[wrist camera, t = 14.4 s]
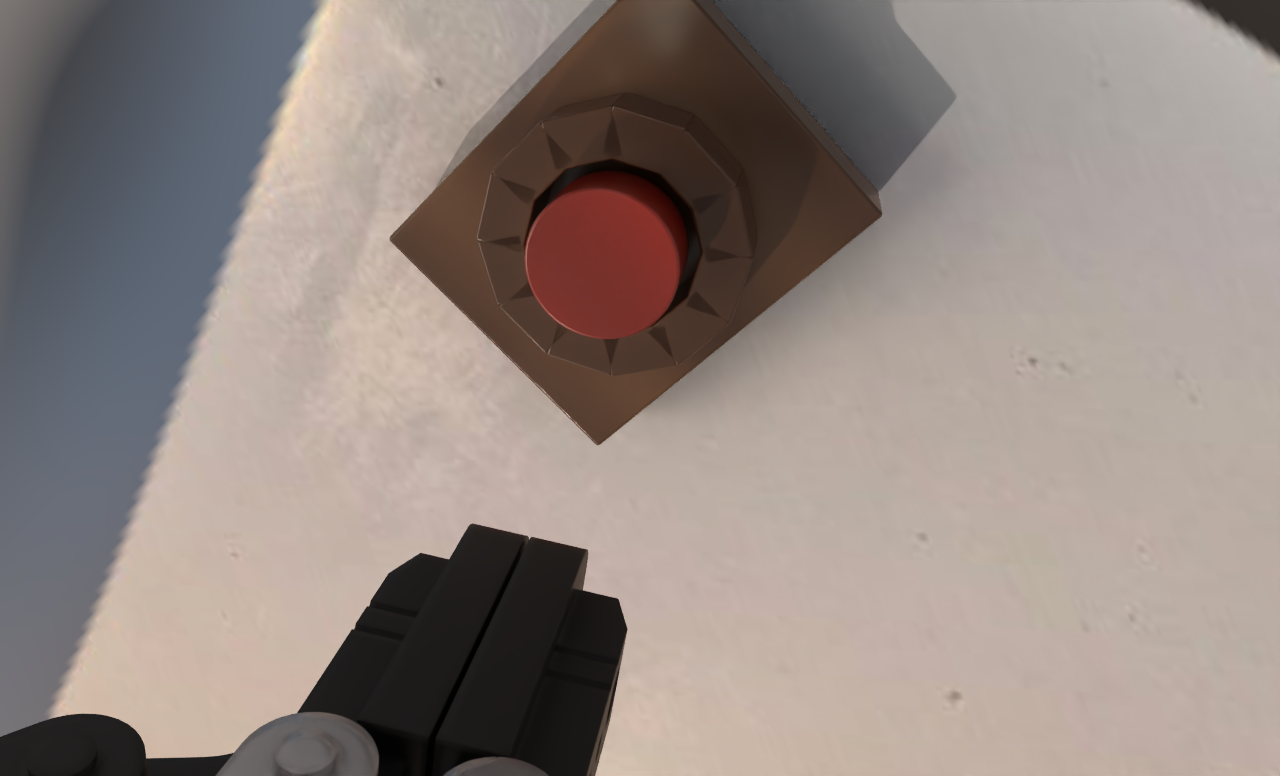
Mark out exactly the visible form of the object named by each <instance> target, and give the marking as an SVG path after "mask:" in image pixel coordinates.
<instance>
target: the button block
mask: <svg viewBox="0 0 1280 776" xmlns="http://www.w3.org/2000/svg"><path fill="white" fill-rule="evenodd" d="M600 171H621V172H627V173H631V174H634V175H637V176H639V177H642V178H644V179H646V180H648V181H650V182H651V183H653V184H654V185H656V186H657V187H659V188H660V189H661V190H662V191H663V192H664V193H665V194H666V195H667V196H668V197H669V198H670V199H671V200H672V202H673V203H674V204H675V206H676V207H677V209H678V211H679V212H680V214H681V217H682V219H683V221H684V224H685V227H686V230H687V236H688V259H687V263H686V267H685V270H684V273H683V276H682V278H681V281H680V283H679V286H678V289H677V291H676V294H675V296H674V299H673V301H672V302H671V304H670V306H669V308H668V309H667V310H666V311H665V313H664V314H663V315H662V316H661V317H660V318H659V319H658V320H657V321H656V322H655V323H653V324H652V325H651V326H649V327H648V328H646V329H644V330H643V331H641V332H639V333H636V334H634V335H631V336H627V337H623V338H616V339H598V338H591V337H587V336H584V335H580V334H578V333H575V332H573V331H571V330H569V329H567V328H565V327H564V326H562V325H561V324H559V323H558V322H556V321H555V320H554V319H553V318H552V317H551V316H550V315H548V314H547V312H546V311H545V310H544V309H543V308H542V307H541V305H540V304H539V302H538V301H537V299H536V298H535V296H534V294H533V292H532V290H531V288H530V285H529V282H528V279H527V275H526V271H525V261H524V257H525V246H526V240H527V237H528V234H529V231H530V229H531V227H532V225H533V223H534V221H535V220H536V218H537V217H538V215H539V214H540V213H541V212H542V211H543V210H544V208H545V207H546V206H547V205H548V204H549V203H550V202H551V201H552V200H553V199H554V198H555V196H556V195H557V194H558V193H559V192H560V191H561V190H562V189H563V188H564V187H566V186H567V185H568V184H569V183H571V182H573V181H574V180H576V179H578V178H580V177H582V176H584V175H587V174H591V173H594V172H600ZM881 216H882V210H881V205H880V199H879V194H878V191H877V190H876V189H875V188H874V186H873V185H872V184H871V183H870V182H869V181H868V179H867V178H866V177H865V176H864V175H863V174H862V173H861V171H860V170H859V169H858V168H857V167H856V166H855V165H854V163H853V162H852V161H851V160H850V159H849V158H848V157H847V155H846V154H845V153H844V152H843V151H842V150H841V148H840V147H839V146H838V145H837V144H836V143H835V142H834V140H833V139H832V138H831V137H830V136H829V135H828V134H827V132H826V131H825V130H824V129H823V128H822V127H821V126H820V124H819V123H818V122H817V121H816V120H815V119H814V118H813V116H812V115H811V114H810V113H809V112H808V111H807V109H806V108H805V107H804V106H803V105H802V104H801V103H800V101H799V100H798V99H797V98H796V97H795V96H794V95H793V93H792V92H791V91H790V90H789V89H788V88H787V87H786V85H785V84H784V83H783V82H782V81H781V80H780V78H779V77H778V76H777V75H776V74H775V73H774V72H773V70H772V69H771V68H770V67H769V66H768V65H767V64H766V62H765V61H764V60H763V59H762V58H761V57H760V56H759V54H758V53H757V52H756V51H755V50H754V49H753V47H752V46H751V45H750V44H749V43H748V42H747V41H746V39H745V38H744V37H743V36H742V35H741V34H740V33H739V31H738V30H737V29H736V28H735V27H734V26H733V25H732V23H731V22H730V21H729V20H728V19H727V18H726V17H725V15H724V14H723V13H722V12H721V11H720V10H719V8H718V7H717V6H716V5H715V4H714V3H713V2H712V0H617V1H616V2H615V3H614V4H613V5H612V6H611V7H610V8H609V9H608V10H607V11H606V13H605V14H604V15H603V16H602V17H601V18H600V19H599V20H598V21H597V22H596V23H595V24H594V25H593V26H592V27H591V28H590V29H589V30H588V31H587V32H586V33H585V34H584V35H583V36H582V37H581V39H580V40H579V41H578V42H577V43H576V44H575V45H574V46H573V47H572V48H571V49H570V50H569V51H568V52H567V53H566V54H565V55H564V56H563V57H562V58H561V59H560V60H559V61H558V62H557V63H556V65H555V66H554V67H553V68H552V69H551V70H550V71H549V72H548V73H547V74H546V75H545V76H544V77H543V78H542V79H541V80H540V81H539V82H538V83H537V84H536V85H535V86H534V87H533V88H532V89H531V91H530V92H529V93H528V94H527V95H526V96H525V97H524V98H523V99H522V100H521V101H520V102H519V103H518V104H517V105H516V106H515V107H514V108H513V109H512V110H511V111H510V112H509V113H508V114H507V116H506V117H505V118H504V119H503V120H502V121H501V122H500V123H499V124H498V125H497V126H496V127H495V128H494V129H493V130H492V131H491V132H490V133H489V134H488V135H487V136H486V137H485V138H484V139H483V140H482V142H481V143H480V144H479V145H478V146H477V147H476V148H475V149H474V150H473V151H472V152H471V153H470V154H469V155H468V156H467V157H466V158H465V159H464V160H463V161H462V162H461V163H460V164H459V165H458V166H457V168H456V169H455V170H454V171H453V172H452V173H451V174H450V175H449V176H448V177H447V178H446V179H445V180H444V181H443V182H442V183H441V184H440V185H439V186H438V187H437V188H436V189H435V190H434V191H433V193H432V194H431V195H430V196H429V197H428V198H427V199H426V200H425V201H424V202H423V203H422V204H421V205H420V206H419V207H418V208H417V209H416V210H415V211H414V212H413V213H412V214H411V215H410V216H409V217H408V219H407V220H406V221H405V222H404V223H403V224H402V225H401V226H400V227H399V228H398V229H397V230H396V231H395V232H394V233H393V234H392V235H391V236H390V241H391V242H392V243H393V244H394V245H395V246H396V247H397V248H398V249H399V250H400V251H401V252H402V253H403V254H404V255H405V256H406V257H407V258H408V259H409V260H410V261H411V262H412V263H413V264H414V265H415V266H416V267H417V268H418V269H419V270H420V271H421V272H422V273H423V274H424V275H425V276H426V277H427V278H428V279H429V280H430V281H431V282H432V283H433V284H434V285H435V286H436V287H437V288H438V289H439V290H440V291H441V292H442V293H443V294H445V295H446V296H447V297H448V298H449V299H450V300H451V301H452V302H453V303H454V304H455V305H456V306H457V307H458V308H459V309H460V310H461V311H462V312H463V313H464V314H465V315H466V316H467V317H468V318H469V319H470V320H471V321H472V322H473V323H474V324H475V325H476V326H477V327H478V328H479V329H480V330H481V331H482V332H483V333H484V334H485V335H486V336H487V337H488V338H489V339H490V340H491V341H492V342H493V343H494V344H495V345H496V346H497V347H498V348H499V349H500V350H501V351H502V352H503V353H504V354H505V355H506V356H507V357H508V358H509V359H510V360H511V361H512V362H513V363H514V364H515V365H516V366H517V367H518V368H519V369H520V370H521V371H522V372H523V373H524V374H525V375H526V376H527V377H528V378H529V379H530V380H531V381H532V382H533V383H534V384H535V385H536V386H537V387H538V388H539V389H540V390H542V391H543V392H544V393H545V394H546V395H547V396H548V397H549V398H550V399H551V400H552V401H553V402H554V403H555V404H556V405H557V406H558V407H559V408H560V409H561V410H562V411H563V412H564V413H565V414H566V415H567V416H568V417H569V418H570V419H571V420H572V421H573V422H574V423H575V424H576V425H577V426H578V427H579V428H580V429H581V430H582V431H583V432H584V433H585V434H586V435H587V436H588V437H589V438H590V439H591V440H592V441H593V442H594V443H595V444H596V445H600V444H601V443H603V442H604V441H605V440H606V439H608V438H609V437H610V436H611V435H612V434H614V433H615V432H616V431H617V430H619V429H620V428H621V427H622V426H624V425H625V424H626V423H627V422H629V421H630V420H631V419H632V418H633V417H635V416H636V415H637V414H638V413H640V412H641V411H642V410H643V409H645V408H646V407H647V406H648V405H649V404H651V403H652V402H653V401H654V400H656V399H657V398H658V397H659V396H661V395H662V394H663V393H664V392H666V391H667V390H668V389H669V388H670V387H672V386H673V385H674V384H675V383H677V382H678V381H679V380H680V379H682V378H683V377H684V376H685V375H686V374H688V373H689V372H690V371H691V370H693V369H694V368H695V367H696V366H698V365H699V364H700V363H701V362H703V361H704V360H705V359H706V358H707V357H709V356H710V355H711V354H712V353H714V352H715V351H716V350H717V349H719V348H720V347H721V346H722V345H723V344H725V343H726V342H727V341H728V340H730V339H731V338H732V337H733V336H735V335H736V334H737V333H738V332H739V331H741V330H742V329H743V328H744V327H746V326H747V325H748V324H749V323H751V322H752V321H753V320H754V319H756V318H757V317H758V316H759V315H760V314H762V313H763V312H764V311H765V310H767V309H768V308H769V307H770V306H772V305H773V304H774V303H775V302H776V301H778V300H779V299H780V298H781V297H783V296H784V295H785V294H786V293H788V292H789V291H790V290H791V289H793V288H794V287H795V286H796V285H797V284H799V283H800V282H801V281H802V280H804V279H805V278H806V277H807V276H809V275H810V274H811V273H812V272H813V271H815V270H816V269H817V268H818V267H820V266H821V265H822V264H823V263H825V262H826V261H827V260H828V259H830V258H831V257H832V256H833V255H834V254H836V253H837V252H838V251H839V250H841V249H842V248H843V247H844V246H846V245H847V244H848V243H849V242H850V241H852V240H853V239H854V238H855V237H857V236H858V235H859V234H860V233H862V232H863V231H864V230H865V229H867V228H868V227H869V226H870V225H871V224H873V223H874V222H875V221H876V220H878V219H879V218H880V217H881Z"/></svg>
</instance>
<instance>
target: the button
mask: <svg viewBox="0 0 1280 776" xmlns="http://www.w3.org/2000/svg"><path fill="white" fill-rule="evenodd" d="M687 259H688V236H687V230H686V227H685V224H684V221H683V219H682V217H681V214H680V212H679V211H678V209H677V207H676V206H675V204H674V203H673V202H672V200H671V199H670V198H669V197H668V196H667V195H666V194H665V193H664V192H663V191H662V190H661V189H660V188H659V187H657V186H656V185H654V184H653V183H651V182H650V181H648V180H646V179H644V178H642V177H639V176H637V175H634V174H631V173H627V172H621V171H600V172H594V173H591V174H587V175H584V176H582V177H580V178H578V179H576V180H574V181H573V182H571V183H569V184H568V185H567V186H566V187H564V188H563V189H562V190H561V191H560V192H559V193H558V194H557V195H556V196H555V198H554V199H553V200H552V201H551V202H550V203H549V204H548V205H547V206H546V207H545V208H544V210H543V211H542V212H541V213H540V214H539V215H538V217H537V218H536V220H535V221H534V223H533V225H532V227H531V229H530V231H529V234H528V237H527V240H526V246H525V257H524V261H525V271H526V275H527V279H528V282H529V285H530V288H531V290H532V292H533V294H534V296H535V298H536V299H537V301H538V302H539V304H540V305H541V307H542V308H543V309H544V310H545V311H546V312H547V314H548V315H550V316H551V317H552V318H553V319H554V320H555V321H556V322H558V323H559V324H561V325H562V326H564V327H565V328H567V329H569V330H571V331H573V332H575V333H578V334H580V335H584V336H587V337H591V338H598V339H616V338H623V337H627V336H631V335H634V334H636V333H639V332H641V331H643V330H644V329H646V328H648V327H649V326H651V325H652V324H653V323H655V322H656V321H657V320H658V319H659V318H660V317H661V316H662V315H663V314H664V313H665V311H666V310H667V309H668V308H669V306H670V304H671V302H672V301H673V299H674V296H675V294H676V291H677V289H678V286H679V283H680V281H681V278H682V276H683V273H684V270H685V267H686V263H687Z"/></svg>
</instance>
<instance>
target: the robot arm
mask: <svg viewBox="0 0 1280 776" xmlns="http://www.w3.org/2000/svg"><path fill="white" fill-rule="evenodd" d="M587 560H588V550H586V549H582V548H578V547H573V546H569V545H565V544H560V543H556V542H552V541H547V540H543V539H539V538H534V537H531V538H530V540H529V537H528V536H524V535H520V534H516V533H511V532H507V531H503V530H498V529H494V528H490V527H485V526H481V525H477V524H471V525H470V526H469V527H468V528H467V530H466V532H465V533H464V535H463V537H462V538H461V540H460V542H459V544H458V545H457V547H456V549H455V551H454V552H453V554H452V556H451V557H450V559H444V558H440V557H436V556H432V555H427V554H423V553H420V554H418V555H417V556H415V557H414V558H412V559H410V560H409V561H407V562H406V563H404V564H403V565H401V566H399V567H398V568H396V569H395V570H393V571H392V572H390V573H389V574H388V575H387V577H386V578H385V580H384V581H383V583H382V584H381V586H380V588H379V589H378V591H377V592H376V594H375V595H374V597H373V598H372V600H371V603H370V606H369V607H368V606H367V607H366V609H365V610H364V612H363V613H362V615H361V617H360V618H359V620H358V621H357V623H356V626H355V629H354V630H353V629H352V630H351V632H350V633H349V635H348V636H347V638H346V639H345V641H344V642H343V644H342V646H341V647H340V649H339V650H338V652H337V653H336V655H335V656H334V658H333V659H332V661H331V662H330V664H329V665H328V667H327V668H326V670H325V671H324V673H323V675H322V676H321V678H320V679H319V681H318V682H317V684H316V685H315V687H314V688H313V690H312V691H311V693H310V694H309V696H308V697H307V699H306V700H305V702H304V704H303V705H302V707H301V708H300V710H299V711H298V713H297V714H291V715H288V716H284V717H281V718H278V719H276V720H273V721H271V722H269V723H267V724H265V725H263V726H262V727H260V728H258V729H257V730H256V731H254V732H253V733H252V734H251V735H249V736H248V738H247V739H246V740H245V741H244V742H243V743H242V744H241V745H240V746H239V748H238V749H237V750H236V751H235V752H234V753H232V754H227V755H221V756H213V757H192V758H150V759H146V753H145V746H144V743H143V741H142V739H141V737H140V735H139V734H138V733H137V732H136V730H135V729H133V728H132V727H131V726H129V725H128V724H127V723H125V722H123V721H121V720H119V719H116V718H112V717H109V716H104V715H98V714H74V715H66V716H61V717H56V718H52V719H49V720H46V721H43V722H39V723H37V724H34V725H32V726H29V727H26V728H23V729H21V730H18V731H15V732H12V733H10V734H7V735H4V736H2V737H0V776H595V774H596V770H597V766H598V763H599V759H600V754H601V752H602V748H603V744H604V740H605V737H606V733H607V729H608V726H609V722H610V717H611V712H612V707H613V701H614V696H615V691H616V686H617V681H618V675H619V670H620V665H621V660H622V655H623V649H624V644H625V639H626V634H627V626H626V623H625V620H624V616H623V613H622V610H621V606H620V603H619V600H618V599H617V598H612V597H608V596H604V595H600V594H595V593H591V592H587V591H583V585H584V579H585V573H586V567H587Z"/></svg>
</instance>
